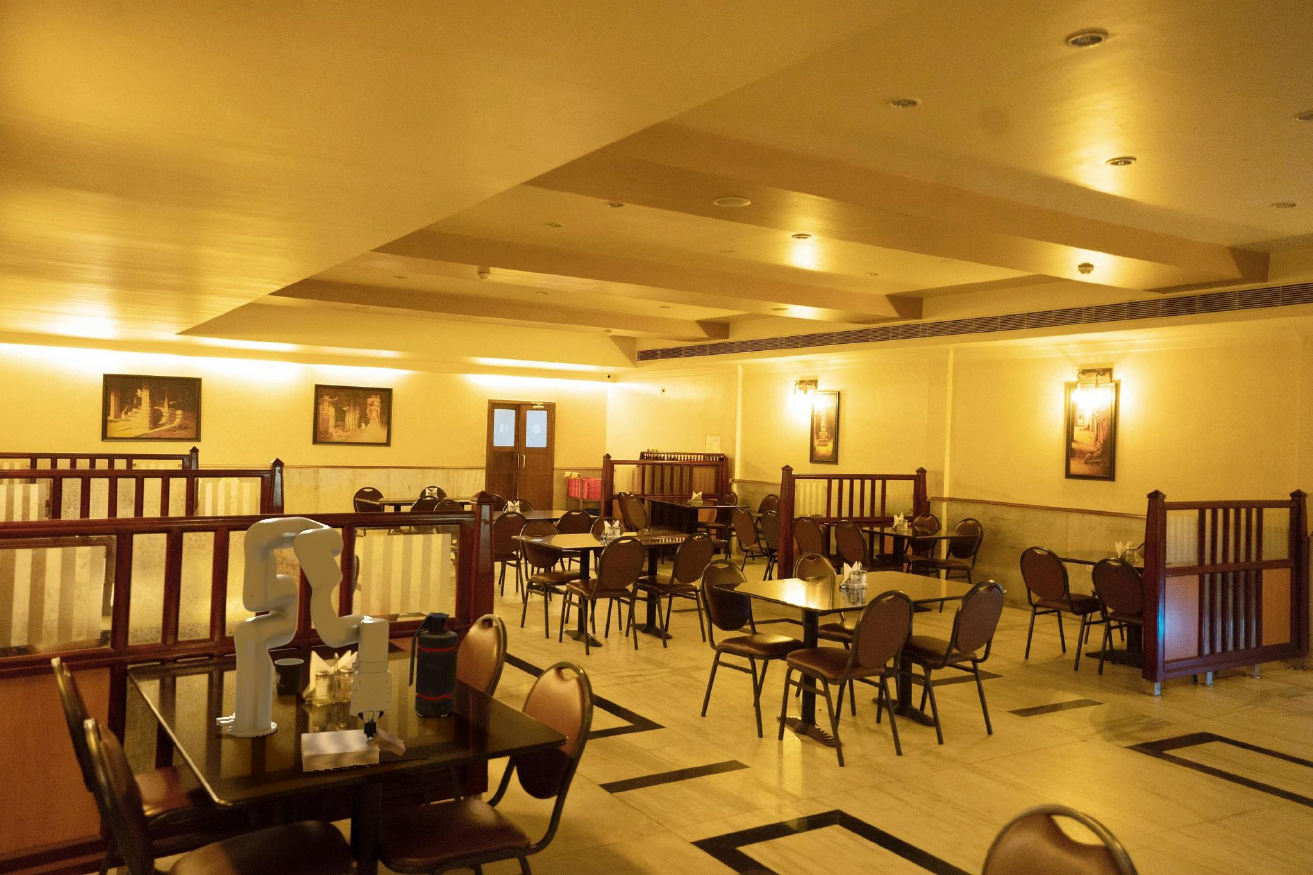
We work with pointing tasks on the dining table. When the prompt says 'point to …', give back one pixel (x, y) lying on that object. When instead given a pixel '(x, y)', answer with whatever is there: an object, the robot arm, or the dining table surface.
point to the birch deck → (337, 750)
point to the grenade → (434, 666)
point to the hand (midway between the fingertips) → (369, 736)
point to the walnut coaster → (389, 742)
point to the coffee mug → (288, 676)
